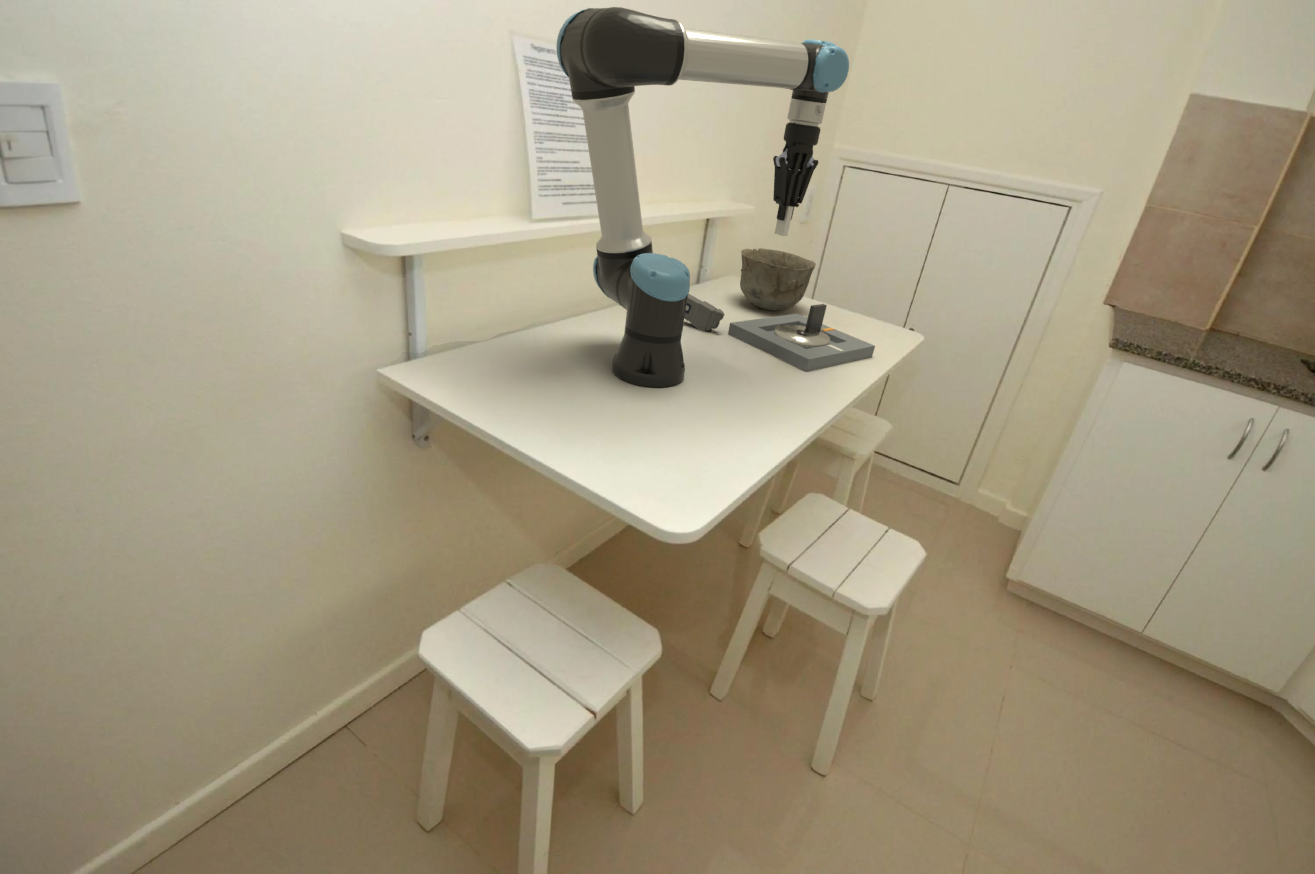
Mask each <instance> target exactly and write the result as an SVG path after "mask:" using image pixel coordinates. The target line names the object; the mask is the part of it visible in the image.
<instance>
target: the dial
mask: <svg viewBox="0 0 1315 874" xmlns="http://www.w3.org/2000/svg"><path fill="white" fill-rule="evenodd" d="M827 306H828V304H824V303H819V304H813V305H810V308H809V312H808V314H807V315H808V316H807V318H808V319H807V323H806V327H805V326H800V325H779V326H777V327H775V330H774V335H776V336H778V337H781V338H783V339H785V340H787V341H790V342H792V343H794V344H796V345H798V346H801V347H803V348H805V349H809V348H814V347H820V346H825V345H829V343H830V337H829V336H828V335H827V334H825V333H823V332H821V327H822V324H823V322H824V318H825V315H826V311H827Z"/></svg>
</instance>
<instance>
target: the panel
mask: <svg viewBox="0 0 1315 874" xmlns="http://www.w3.org/2000/svg"><path fill="white" fill-rule="evenodd" d="M807 319H808V317H806V316H804V315H801V314H800V313H792V314H790V313H789V314H786V315H783V314H782V315H778V316H769V317H763V318H756V319H747V320H739V321H733V322H729V327H728V331H727V332H728V333H727V335H729V336H731V337H733V338H736V339H738V340H740V341H741V342H744V343H746V344H747V345H749V346H751V347H754V348H757V350H760V351H762V352H765V353H766V354H769V355H771V356H772V357H775V358H777V359H779V360H781V361H783V362H785V363H787V364H789V365H792V366H794V367H795V368H798V369H800V370H801V371H804V372H810V371H815V370H819V369H823V368H828V367H833V366H836V365H841V364H847V363H851V362H855V361H859V360H864V359H869V358H872V357H873V354H874V351H875V349H876V345H874V344H872V343H870V342H867V341H864V340H863V339H860V338H857V337H855V336H853V335H850V334H848V333H845V332H843V331H840V330H838V329H836V328H833V327H831V326H827V325H826V324H823V323H822V327H821V332H823V333H825V334H827V335H828V336H829V337H830V343H829V345H825V346H820V347H814V348H809V349H805V348H803V347H801V346H798V345H796V344H794V343H792V342H790V341H787V340H785V339H783V338H781V337H778V336H776V335H774V330H775V327H777V326H779V325H800V326H805V327H806V323H807Z"/></svg>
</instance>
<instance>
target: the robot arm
mask: <svg viewBox="0 0 1315 874" xmlns="http://www.w3.org/2000/svg"><path fill="white" fill-rule="evenodd" d="M555 48H556V57H557V60H558V63H559V66H560V67H561V69H562V71H563V73H564V74H565V75H566V77H568V80H569V86H570V91H571V97H572V98H571V100H572V101H573V102H574V103H575V104H576V105H578V106H579V108H580V109H581V110H582V115H583V121H584V128H585V134H586V135H585V136H586V141H587V142H586V143H587V149H588V153H589V160H590V167H591V173H592V174H591V175H592V181H593V187H594V192H595V193H594V194H595V200H596V207H597V214H598V219H599V220H598V221H599V224H600V232H601V237H600V238H599V240H598V241H597V242H596V244H595V249H596V254H597V255H596V257H595V258H594V261H593V265H592V273H593V278H594V281H595V284H596V285H597V287H598V289H600V291H601V292H602V294H604V295H605V296H606V297H607V298H609V299H611V300H612V301H613V302H615V303H616V304H618V305H619V306H620V307H622V308H623V309H625V310H626V313H625V314H626V316H625V326H624V333H623V337H622V339H621V341H620V343H619V346H618V348H617V351H616V353H615V354H614V356H613V359H612V369H611V370H612V372H613V373H614V375H615V376H616V377H617V378H619V379H621V380H623V381H624V382H626V383H627V382H628V383H630V384H634V385H636V386H637V385H638V386H641V387H649V388H650V387H651V388H667V387H672V386H676V385H678V384H681V382H683V380H684V378H685V372H686V365H685V363H684V362H685V361H684V359H685V358H684V354H683V353H684V352H683V349H682V336H683V331H684V330H683V329H684V322H685V319H684V317H685V311H686V304H687V298H688V293H689V294H690V291H691V290H690V289H691V288H690V287H691V285H690V284H691V283H690V281H691V273H690V270H689V268H688V266H687V265H686V264H684V263H683V262H682V261H681V260H678V259H677V258H675V257H669V256H668V255H665V254H661V253H654V252H653V251H654V249H653V244H652V243H653V242H652V237H651V236H650V235H649V233H646V232H645V230H644V229H643V221H642V210H641V203H640V195H639V194H640V193H639V185H638V178H637V168H636V161H635V160H636V159H635V158H636V157H635V152H634V151H635V150H634V142H633V133H632V125H631V116H630V108H629V102H630V101H631V99H632V98H633V96H634V95H635V93H636V89H635V87H639V86H655V85H656V86H673V85H675V84H677V82H678V81H680V80H681V81H689V82H690V81H693V82H705V83H717V84H729V85H740V86H741V85H742V86H751V87H753V86H754V87H765V88H778V89H785V90H786V89H787V90H790V91H791V98H790V103H789V106H788V107H789V108H788V113H787V117H786V119H787V120H789V122H787V123H786V124H785V128H784V133H783V141H784V142H785V145H784V147H783V148H782V153H781V154H779V155H773V159H772V161H773V164H774V176H773V177H774V179H773V180H774V181H773V202H775V204H777V205H778V209H777V214H776V224H775V229H774V234H775V235H778V236H782V237H788V233H789V229H790V225H791V221H792V219H793V215H794V210H795V208H799V206H800V204H802V203H803V200H804V198H805V195H806V192H807V190H808V187H809V184H810V182H811V179H812V178H813V177H812V176H813V174H814V171H815V170H816V168H817V167H818V165H819V160H818V159H815V158H814V157H813V155H814V146H817V145H818V143H819V140H820V134H821V127H820V126H819V125H821V124H822V123H823V119H824V115H825V110H826V105H827V102H828V97H829V94H830V93H832V92H835V91H837V90H838V89H840V88H841V87H842V86H843V85H844V83H845V82H846V80H847V78H848V75H849V71H850V60H849V55H848V53H847V51H846V50H845V49H844V48H843V47H841V46H839V45H836V43H834V42H831V41H828V40H819V39H812V38H811V39H810V38H809V39H807V38H806V39H804V40H803V42H802V43H801V42H798V41H790V40H782V39H774V38H766V37H758V36H750V35H743V34H734V33H725V32H718V31H717V32H716V31H712V30H711V31H709V30H703V29H695V28H694V29H693V28H686V27H685V28H684V26H683V25H682V23H681V22H680V21H679V20H678V19H673V18H666V17H660V16H658V15H657V16H655V15H652V14H647V13H644V12H642V11H637V10H633V9H630V8H626V7H621V6H612V7H611V6H610V7H603V8H602V7H600V8H599V7H595V8H593V7H592V8H590V7H587V8H586V9H581V10H579V11H577V12H575V13H573V14H572V15H571V16H569V17H567V19H566V20H565V21H564V22H563V24H562V26H561V28H560V29H559V32H558V35H557V39H556V47H555Z"/></svg>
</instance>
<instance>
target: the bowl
mask: <svg viewBox="0 0 1315 874" xmlns="http://www.w3.org/2000/svg"><path fill="white" fill-rule="evenodd" d="M740 252H741V269H740V273H741V275H740V281H739V286H740V290H741V292H742V294H743V296H744V297H745V299H747V301H749V302H750V303H751V304H753V305H754V306H756V307H757V308H760V309H763V310H765V311H766V310H767V311H783V310H788V309H790V308H793V307H795V305H797V304H798V303H799V302H800V301H802V299H803V298H804V296H805V293H806V291H807V288H808V286H809V283H810V280H811V276H812V274H813V272H814V270H815V268H816V266H817V264H816V262H815V261H813V260H810V259H807V258H805V257H803V256H800V255H796V254H793V253H790V252H786V251H781V250H775V249H771V248H770V249H769V248H762V247H761V248H752V249H750V248H744V249H741V250H740Z"/></svg>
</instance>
